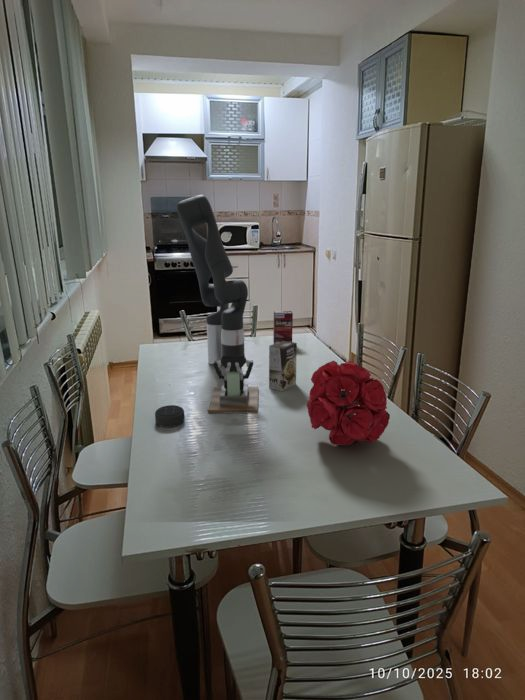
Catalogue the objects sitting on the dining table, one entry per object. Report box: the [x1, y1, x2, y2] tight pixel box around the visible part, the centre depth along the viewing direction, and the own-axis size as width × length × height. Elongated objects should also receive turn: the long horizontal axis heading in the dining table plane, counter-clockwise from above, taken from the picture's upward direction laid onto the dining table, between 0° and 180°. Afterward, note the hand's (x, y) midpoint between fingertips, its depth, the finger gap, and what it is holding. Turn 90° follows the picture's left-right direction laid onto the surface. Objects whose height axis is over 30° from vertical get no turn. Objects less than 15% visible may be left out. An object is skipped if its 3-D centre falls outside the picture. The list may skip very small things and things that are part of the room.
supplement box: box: [272, 310, 294, 344], centre depth 223 cm, size 9×5×16 cm, turn 95°
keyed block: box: [227, 371, 241, 396], centre depth 160 cm, size 4×7×9 cm, turn 0°
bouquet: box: [306, 360, 391, 446], centre depth 134 cm, size 22×24×30 cm
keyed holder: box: [207, 383, 259, 414], centre depth 162 cm, size 20×16×4 cm
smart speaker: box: [154, 404, 186, 428], centre depth 147 cm, size 9×9×4 cm
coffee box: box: [268, 341, 298, 392], centre depth 172 cm, size 9×6×16 cm
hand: (234, 389), depth 161 cm, fingers closed on keyed block, 4 cm apart
